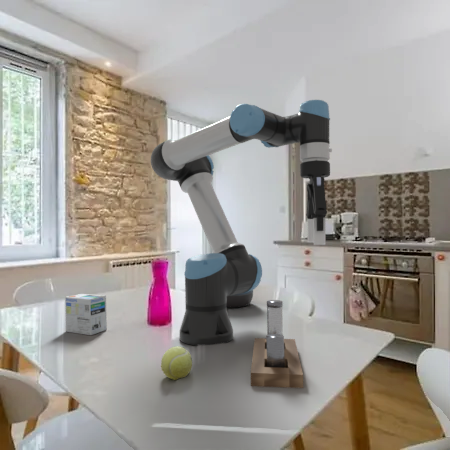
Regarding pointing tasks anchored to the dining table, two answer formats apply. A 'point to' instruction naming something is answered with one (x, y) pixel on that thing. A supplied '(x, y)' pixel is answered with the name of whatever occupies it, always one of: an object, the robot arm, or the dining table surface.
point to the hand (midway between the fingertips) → (315, 243)
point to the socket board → (276, 376)
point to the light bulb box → (86, 314)
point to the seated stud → (275, 350)
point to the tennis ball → (176, 363)
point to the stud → (274, 317)
